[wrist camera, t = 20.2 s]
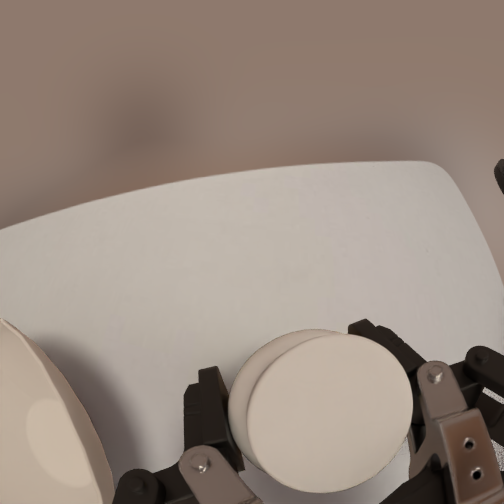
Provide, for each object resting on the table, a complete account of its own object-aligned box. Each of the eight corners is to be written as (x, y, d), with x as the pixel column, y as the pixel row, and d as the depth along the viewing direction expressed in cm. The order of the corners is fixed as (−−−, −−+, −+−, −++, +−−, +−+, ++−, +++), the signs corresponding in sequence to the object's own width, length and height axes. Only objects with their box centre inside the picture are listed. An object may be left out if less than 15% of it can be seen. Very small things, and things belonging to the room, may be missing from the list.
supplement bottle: (342, 428, 12) (446, 464, 4) (248, 450, 12) (238, 535, 3) (324, 344, 15) (408, 281, 6) (231, 362, 14) (195, 325, 6)
